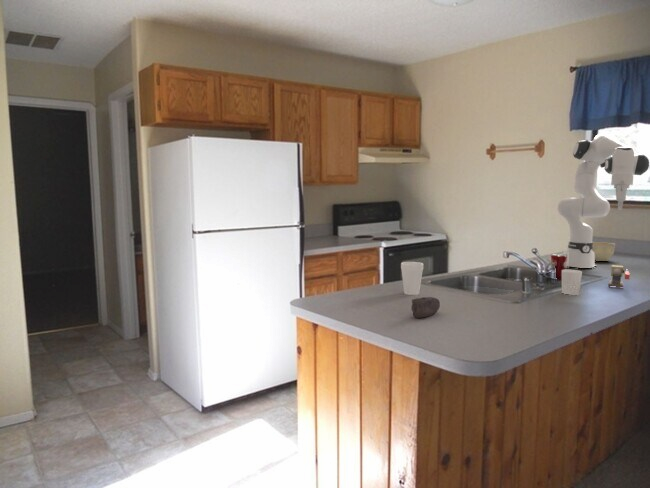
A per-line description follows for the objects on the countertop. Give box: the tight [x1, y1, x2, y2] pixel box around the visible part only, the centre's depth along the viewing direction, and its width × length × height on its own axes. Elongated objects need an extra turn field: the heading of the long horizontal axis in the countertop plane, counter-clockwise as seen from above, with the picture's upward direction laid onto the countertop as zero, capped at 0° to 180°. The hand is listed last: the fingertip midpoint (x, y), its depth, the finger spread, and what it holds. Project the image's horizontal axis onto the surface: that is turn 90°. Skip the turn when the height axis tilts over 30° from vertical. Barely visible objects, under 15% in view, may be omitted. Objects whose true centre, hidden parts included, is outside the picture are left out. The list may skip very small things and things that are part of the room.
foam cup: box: [400, 261, 424, 296], centre depth 213 cm, size 10×9×13 cm
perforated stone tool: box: [410, 296, 441, 319], centre depth 177 cm, size 15×5×7 cm, turn 129°
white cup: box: [561, 268, 583, 295], centre depth 212 cm, size 8×8×10 cm
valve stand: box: [608, 264, 625, 288], centre depth 229 cm, size 10×6×9 cm, turn 150°
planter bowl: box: [592, 241, 616, 262], centre depth 301 cm, size 16×16×11 cm
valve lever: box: [624, 268, 630, 280], centre depth 221 cm, size 2×2×16 cm
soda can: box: [550, 253, 568, 281], centre depth 246 cm, size 7×7×12 cm
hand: (619, 210), depth 238 cm, fingers closed
